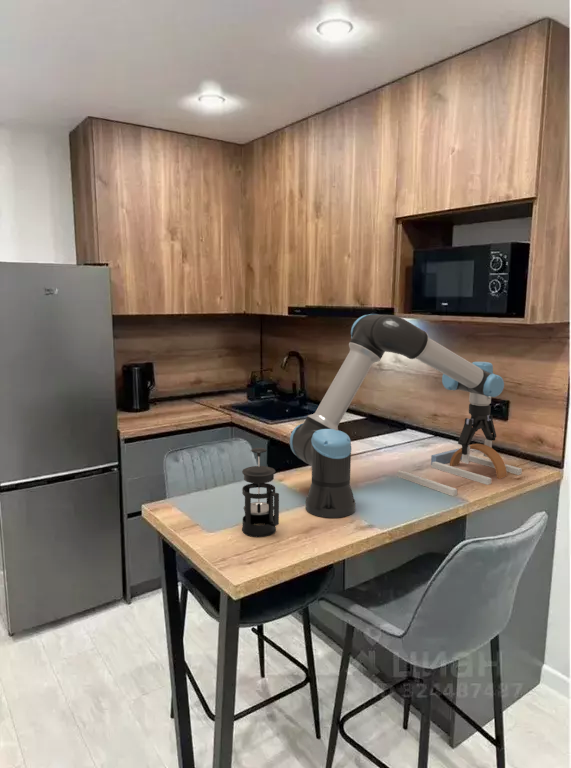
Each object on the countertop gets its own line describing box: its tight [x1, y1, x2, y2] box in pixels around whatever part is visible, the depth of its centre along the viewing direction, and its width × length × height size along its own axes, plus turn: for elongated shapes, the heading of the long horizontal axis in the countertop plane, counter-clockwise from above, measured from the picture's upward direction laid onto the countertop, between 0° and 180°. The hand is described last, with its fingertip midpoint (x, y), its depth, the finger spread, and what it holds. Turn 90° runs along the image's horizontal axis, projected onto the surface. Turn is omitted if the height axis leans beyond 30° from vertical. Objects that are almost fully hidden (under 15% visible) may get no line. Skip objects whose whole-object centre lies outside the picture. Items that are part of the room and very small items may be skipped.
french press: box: [241, 447, 280, 538], centre depth 143 cm, size 12×9×23 cm
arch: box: [449, 443, 508, 480], centre depth 197 cm, size 6×20×10 cm, turn 40°
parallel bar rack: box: [397, 448, 523, 497], centre depth 193 cm, size 40×26×4 cm, turn 126°
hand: (476, 459), depth 198 cm, fingers open, 13 cm apart
